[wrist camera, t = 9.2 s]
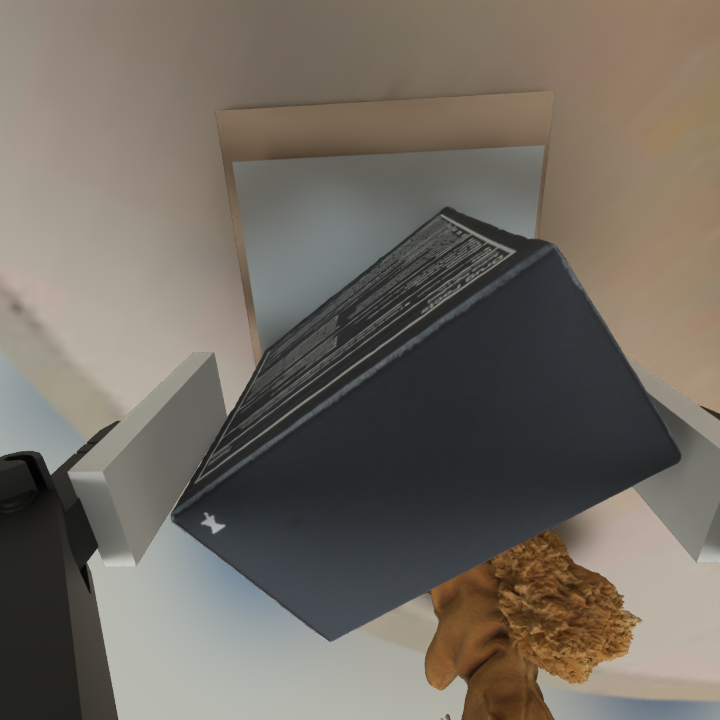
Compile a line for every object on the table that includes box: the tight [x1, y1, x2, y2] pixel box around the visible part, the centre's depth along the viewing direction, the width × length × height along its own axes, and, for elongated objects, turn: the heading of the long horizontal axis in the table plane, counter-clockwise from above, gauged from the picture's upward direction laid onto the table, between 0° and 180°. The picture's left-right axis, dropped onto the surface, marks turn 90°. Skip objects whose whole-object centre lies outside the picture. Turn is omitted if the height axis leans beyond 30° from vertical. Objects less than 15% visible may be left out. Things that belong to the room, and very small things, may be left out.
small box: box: [171, 206, 682, 642], centre depth 14 cm, size 11×6×10 cm, turn 129°
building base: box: [215, 91, 555, 368], centre depth 22 cm, size 20×16×6 cm
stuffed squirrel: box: [424, 529, 642, 720], centre depth 27 cm, size 10×14×13 cm
